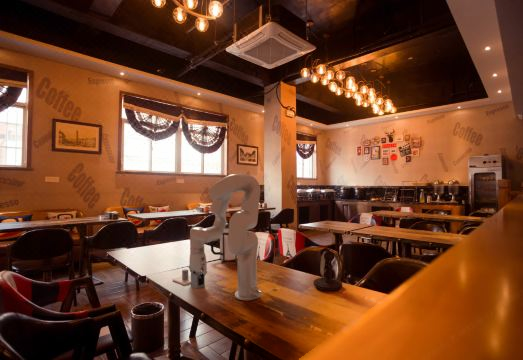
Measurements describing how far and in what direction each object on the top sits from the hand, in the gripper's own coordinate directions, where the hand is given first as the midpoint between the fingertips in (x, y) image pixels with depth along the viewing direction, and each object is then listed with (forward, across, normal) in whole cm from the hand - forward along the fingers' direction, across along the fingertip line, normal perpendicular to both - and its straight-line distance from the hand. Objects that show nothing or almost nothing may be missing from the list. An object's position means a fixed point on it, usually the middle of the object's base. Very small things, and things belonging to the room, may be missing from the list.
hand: (197, 283), depth 153 cm
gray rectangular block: (+2, 0, 0) cm, 2 cm away
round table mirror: (+2, -55, -43) cm, 70 cm away
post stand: (+2, +12, 0) cm, 12 cm away
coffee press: (+2, +25, -43) cm, 50 cm away
